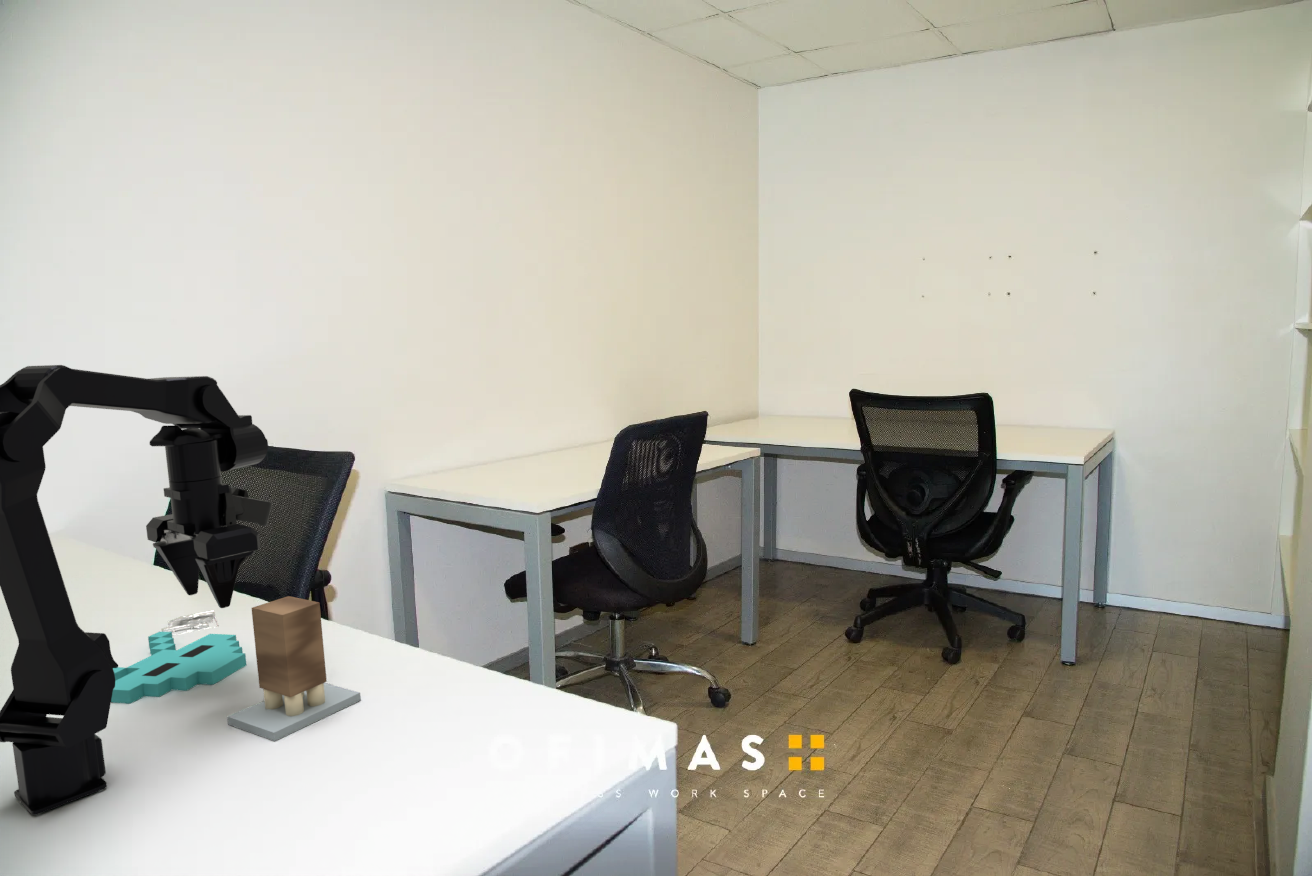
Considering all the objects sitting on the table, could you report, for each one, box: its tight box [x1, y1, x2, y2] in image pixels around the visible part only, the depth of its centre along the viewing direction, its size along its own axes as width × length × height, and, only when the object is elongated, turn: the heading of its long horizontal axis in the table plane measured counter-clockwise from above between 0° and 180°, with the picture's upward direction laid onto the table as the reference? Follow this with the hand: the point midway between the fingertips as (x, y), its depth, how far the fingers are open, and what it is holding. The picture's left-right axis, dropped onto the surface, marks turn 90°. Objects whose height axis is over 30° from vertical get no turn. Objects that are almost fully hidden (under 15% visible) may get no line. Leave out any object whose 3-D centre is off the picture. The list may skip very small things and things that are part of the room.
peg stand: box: [226, 682, 362, 742], centre depth 104 cm, size 12×9×4 cm
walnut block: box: [251, 595, 328, 697], centre depth 103 cm, size 5×6×10 cm
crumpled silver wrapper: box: [160, 610, 220, 637], centre depth 138 cm, size 8×7×2 cm
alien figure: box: [111, 631, 247, 705], centre depth 119 cm, size 20×2×20 cm
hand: (208, 600), depth 107 cm, fingers open, 9 cm apart
